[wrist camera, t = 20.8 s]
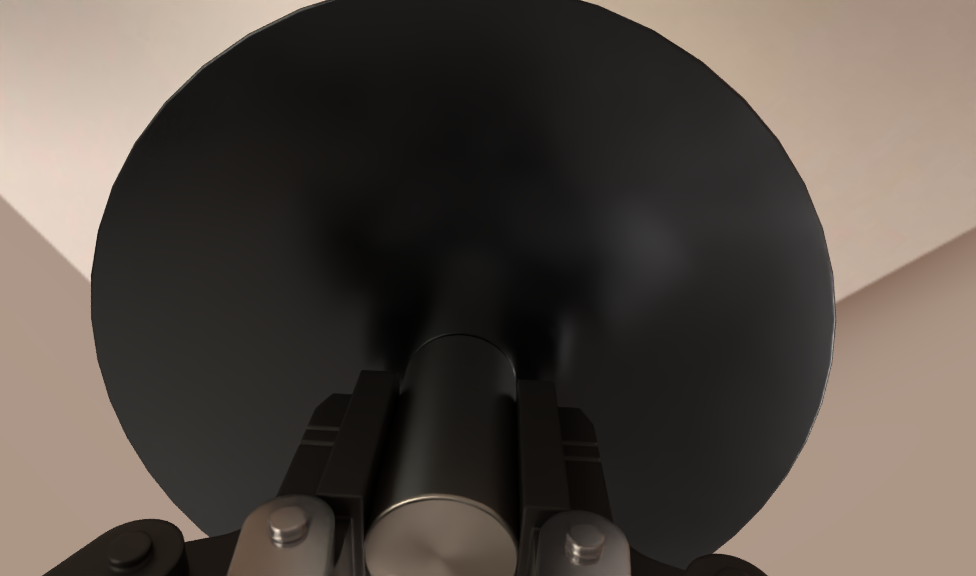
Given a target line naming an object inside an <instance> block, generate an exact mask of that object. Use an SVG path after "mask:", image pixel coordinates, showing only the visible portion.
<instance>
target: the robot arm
mask: <svg viewBox="0 0 976 576" xmlns="http://www.w3.org/2000/svg"><path fill="white" fill-rule="evenodd" d="M399 397H400V377H399V372H390V371H373V370H362V371H361V372H360V375H359V377H358V380H357V383H356V385H355V388H354V391H353V393H352V394H337V393H333V394H331V395H330V396H329V397H328V398H327V399H325V400H324V401H323V402H322V403H321V404H320V405H318V406H317V407H316V408H315V410H314V412H313V415H312V417H311V419H310V421H309V423H308V426H307V430H305V432H304V435H303V437H302V439H301V444H300V445H299V446H298V448H297V450H296V453H295V455H294V457H293V459H292V462H291V464H290V466H289V468H288V471H287V473H286V475H285V477H284V480H283V482H282V484H281V486H280V489H279V491H278V493H277V495H276V498H273V499H271V500H268V501H266V502H264V503H263V504H261V505H259V506H258V507H257V508H256V509H254V510H253V511H252V512H251V513H250V514H249V515H248V517H247V518H246V520H245V521H244V524H243V526H242V528H241V529H239V530H237V531H234V532H231V533H228V534H224V535H220V536H214V537H209V538H204V539H199V540H194V541H188V542H184V538H183V534H182V532H181V531H180V529H179V528H178V527H177V526H175V525H174V524H172V523H170V522H168V521H164V520H160V519H142V520H136V521H132V522H128V523H125V524H123V525H119V526H117V527H115V528H113V529H111V530H109V531H107V532H105V533H104V534H102V535H101V536H99V537H98V538H96V539H95V540H93V541H92V542H90V543H89V544H87V545H86V546H85V547H84V548H82V549H80V550H79V551H77V552H76V553H74V554H73V555H72V556H70V557H69V558H67V559H66V560H65V561H63V562H61V563H60V564H59V565H57V566H56V567H54V568H53V569H51V570H50V571H48V572H47V573H45V574H44V575H43V576H370V574H369V572H368V570H367V568H366V565H365V558H364V536H365V531H366V527H367V523H368V519H369V515H370V511H371V507H372V503H373V499H374V495H375V492H376V488H377V484H378V480H379V476H380V472H381V468H382V464H383V460H384V456H385V452H386V448H387V444H388V440H389V436H390V432H391V429H392V425H393V421H394V417H395V413H396V409H397V405H398V401H399ZM516 435H517V473H518V510H519V556H518V566H517V573H516V575H515V576H767V575H766V574H765V573H764V572H763V571H761V570H760V569H758V568H757V567H756V566H754V565H752V564H751V563H749V562H747V561H745V560H742V559H740V558H737V557H734V556H730V555H725V554H707V555H703V556H700V557H698V558H696V559H694V560H693V561H692V562H691V563H690V564H689V565H688V567H687V568H686V570H683V569H680V568H677V567H674V566H671V565H668V564H665V563H662V562H659V561H656V560H653V559H651V558H649V557H647V556H645V555H643V554H641V553H639V552H638V551H636V550H635V549H634V548H632V547H631V546H630V545H629V544H628V541H627V539H626V537H625V535H624V533H623V532H622V531H621V530H620V528H619V527H618V526H617V525H615V524H614V522H613V518H612V513H611V508H610V503H609V498H608V493H607V488H606V483H605V478H604V473H603V468H602V464H601V463H600V454H599V449H598V447H597V439H596V434H595V429H594V425H593V423H592V422H591V421H590V420H589V419H588V417H587V416H586V415H585V414H584V413H583V411H582V410H581V409H580V408H570V407H558V404H557V396H556V388H555V382H554V381H538V380H521V379H518V383H517V393H516Z"/></svg>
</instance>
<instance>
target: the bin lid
mask: <svg viewBox="0 0 976 576" xmlns="http://www.w3.org/2000/svg"><path fill="white" fill-rule="evenodd" d="M91 320H92V327H93V333H94V340H95V346H96V353H97V360H98V363H99V367H100V369H101V373H102V376H103V380H104V383H105V386H106V390H107V393H108V396H109V399H110V402H111V404H112V406H113V408H114V411H115V412H116V415H117V417H118V419H119V421H120V424H121V426H122V428H123V430H124V432H125V434H126V436H127V438H128V439H129V441H130V443H131V445H132V446H133V448H134V450H135V451H136V453H137V454H138V456H139V458H140V459H141V461H142V462H143V464H144V465H145V467H146V469H147V470H148V472H149V473H150V474H151V476H152V477H153V478H154V479H155V481H156V482H157V483H158V484H159V486H160V487H161V488H162V489H163V490H164V492H165V493H166V494H167V496H168V497H169V498H170V499H171V500H172V502H173V503H174V504H175V505H176V506H178V508H179V509H180V510H181V511H182V512H183V513H185V515H186V516H187V517H188V518H189V519H190V520H191V521H193V523H194V524H196V526H197V527H198V528H200V529H201V531H203V532H204V533H205V534H207V535H208V536H209V537H214V536H220V535H224V534H228V533H231V532H234V531H237V530H239V529H241V528H242V526H243V524H244V521H245V520H246V518H247V517H248V515H249V514H250V513H251V512H252V511H253V510H254V509H256V508H257V507H258V506H259V505H261V504H263V503H264V502H266V501H268V500H271V499H273V498H276V495H277V493H278V491H279V489H280V486H281V484H282V482H283V480H284V477H285V475H286V473H287V471H288V468H289V466H290V464H291V462H292V459H293V457H294V455H295V453H296V450H297V448H298V446H299V445H300V444H301V439H302V437H303V435H304V432H305V430H307V426H308V423H309V421H310V419H311V417H312V415H313V412H314V410H315V408H316V407H317V406H318V405H320V404H321V403H322V402H323V401H324V400H325V399H327V398H328V397H329V396H330V395H331V394H333V393H337V394H352V393H353V391H354V388H355V385H356V383H357V380H358V377H359V375H360V372H361V371H362V370H373V371H390V372H399V377H400V397H399V401H398V405H397V409H396V413H395V417H394V421H393V425H392V429H391V432H390V436H389V440H388V444H387V448H386V452H385V456H384V460H383V464H382V468H381V472H380V476H379V480H378V484H377V488H376V492H375V495H374V499H373V503H372V507H371V511H370V515H369V519H368V523H367V527H366V531H365V536H364V558H365V565H366V568H367V570H368V572H369V574H370V576H515V575H516V573H517V566H518V556H519V510H518V473H517V435H516V393H517V383H518V379H521V380H538V381H554V382H555V388H556V396H557V404H558V407H570V408H580V409H581V410H582V411H583V413H584V414H585V415H586V416H587V417H588V419H589V420H590V421H591V422H592V423H593V425H594V429H595V434H596V439H597V447H598V449H599V454H600V463H601V464H602V468H603V473H604V478H605V483H606V488H607V493H608V498H609V503H610V508H611V513H612V518H613V522H614V524H615V525H617V526H618V527H619V528H620V530H621V531H622V532H623V533H624V535H625V537H626V539H627V541H628V544H629V545H630V546H631V547H632V548H634V549H635V550H636V551H638V552H639V553H641V554H643V555H645V556H647V557H649V558H651V559H653V560H656V561H659V562H662V563H665V564H668V565H671V566H674V567H677V568H680V569H683V570H686V568H687V567H688V565H689V564H690V563H691V562H692V561H693V560H694V559H696V558H698V557H700V556H703V555H707V554H712V553H714V552H715V551H716V550H717V549H718V548H720V547H721V546H722V545H724V544H725V543H726V542H727V541H729V540H730V539H731V538H732V537H733V536H735V535H736V534H737V533H738V532H739V531H740V530H741V529H742V528H743V527H744V526H745V525H746V524H747V523H748V522H749V521H750V520H751V519H752V518H753V517H754V516H755V515H756V514H757V513H758V512H759V510H760V509H761V508H762V507H763V506H764V505H765V504H766V502H767V501H768V500H769V498H770V497H771V496H772V494H773V493H774V492H775V491H776V489H777V488H778V487H779V485H780V484H781V483H782V481H783V480H784V479H785V477H786V476H787V474H788V473H789V471H790V469H791V468H792V466H793V464H794V462H795V461H796V459H797V457H798V455H799V454H800V452H801V450H802V448H803V447H804V445H805V443H806V441H807V439H808V437H809V434H810V432H811V429H812V427H813V424H814V422H815V420H816V417H817V415H818V412H819V410H820V407H821V405H822V402H823V398H824V394H825V390H826V386H827V382H828V377H829V373H830V369H831V365H832V359H833V348H834V337H835V326H836V310H835V295H834V279H833V271H832V267H831V262H830V258H829V253H828V249H827V244H826V240H825V236H824V231H823V228H822V225H821V223H820V220H819V218H818V215H817V213H816V210H815V208H814V205H813V203H812V200H811V198H810V195H809V193H808V190H807V188H806V185H805V183H804V181H803V180H802V178H801V176H800V175H799V173H798V171H797V170H796V168H795V166H794V165H793V163H792V161H791V160H790V158H789V156H788V154H787V153H786V151H785V149H784V148H783V146H782V144H781V143H780V141H779V140H778V138H777V137H776V136H775V135H774V134H773V132H772V131H771V130H770V129H769V128H768V126H767V125H766V124H765V123H764V122H763V120H762V119H761V118H760V117H759V116H758V114H757V113H756V112H755V111H754V110H753V108H752V107H751V106H750V105H749V104H748V102H747V101H746V100H745V99H744V98H743V97H742V96H741V95H740V94H739V93H737V92H736V91H735V90H734V89H733V88H732V87H731V86H729V85H728V84H727V83H726V82H725V81H724V80H723V79H721V78H720V77H719V76H718V75H717V74H716V73H715V72H714V71H712V70H711V69H710V68H709V67H708V66H707V65H706V64H704V63H703V62H702V61H701V60H699V59H697V58H696V57H694V56H693V55H691V54H690V53H688V52H687V51H685V50H683V49H682V48H680V47H679V46H677V45H676V44H674V43H673V42H671V41H669V40H668V39H666V38H665V37H663V36H662V35H660V34H659V33H657V32H655V31H654V30H652V29H650V28H647V27H645V26H643V25H641V24H639V23H636V22H634V21H632V20H630V19H627V18H625V17H623V16H621V15H619V14H616V13H614V12H612V11H610V10H607V9H605V8H603V7H601V6H599V5H595V4H591V3H588V2H584V1H581V0H326V1H322V2H319V3H316V4H313V5H310V6H307V7H303V8H300V9H298V10H296V11H294V12H292V13H290V14H288V15H286V16H284V17H282V18H280V19H278V20H276V21H274V22H272V23H269V24H267V25H265V26H263V27H261V28H259V29H257V30H255V31H253V32H251V33H249V34H247V35H246V36H245V37H243V38H242V39H240V40H239V41H237V42H236V43H235V44H233V45H232V46H230V47H229V48H227V49H226V50H225V51H223V52H222V53H220V54H219V55H217V56H216V57H215V58H213V59H212V60H210V61H209V62H207V63H206V64H205V65H203V66H202V67H201V68H200V69H199V70H198V71H197V72H196V73H195V74H194V75H193V76H192V77H191V78H190V79H189V80H188V81H187V82H186V83H184V84H183V85H182V86H181V87H180V88H179V89H178V90H177V91H176V92H175V93H174V94H173V95H172V96H171V97H170V98H169V99H168V100H167V101H166V102H165V103H164V104H163V106H162V107H161V108H160V110H159V111H158V112H157V114H156V115H155V116H154V118H153V119H152V120H151V122H150V123H149V125H148V126H147V127H146V129H145V130H144V131H143V133H142V134H141V135H140V137H139V138H138V139H137V141H136V142H135V144H134V145H133V147H132V149H131V151H130V153H129V155H128V157H127V159H126V161H125V163H124V165H123V167H122V169H121V171H120V173H119V174H118V176H117V178H116V180H115V182H114V184H113V186H112V189H111V192H110V195H109V199H108V202H107V205H106V208H105V211H104V214H103V217H102V220H101V223H100V226H99V229H98V234H97V241H96V247H95V253H94V260H93V266H92V273H91Z"/></svg>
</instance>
